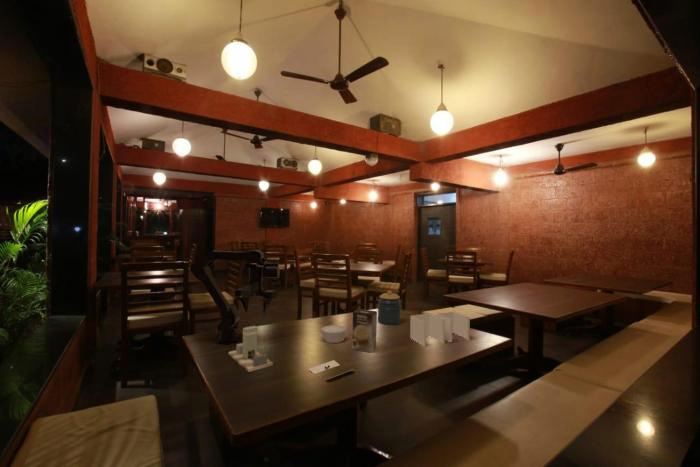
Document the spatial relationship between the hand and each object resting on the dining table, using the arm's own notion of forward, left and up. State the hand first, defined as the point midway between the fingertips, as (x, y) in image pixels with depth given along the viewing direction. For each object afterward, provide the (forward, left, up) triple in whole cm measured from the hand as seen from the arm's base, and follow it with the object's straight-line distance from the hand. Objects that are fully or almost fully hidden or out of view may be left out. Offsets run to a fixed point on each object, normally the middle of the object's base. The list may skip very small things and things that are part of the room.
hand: (255, 312), depth 142 cm
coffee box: (+49, +6, -13) cm, 51 cm away
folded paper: (+43, -19, -14) cm, 49 cm away
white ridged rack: (+9, -19, -13) cm, 25 cm away
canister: (+53, +50, -13) cm, 74 cm away
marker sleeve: (+9, -18, -12) cm, 24 cm away
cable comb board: (+9, -19, -13) cm, 25 cm away
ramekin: (+33, +13, -13) cm, 38 cm away
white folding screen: (+80, +28, -13) cm, 86 cm away
